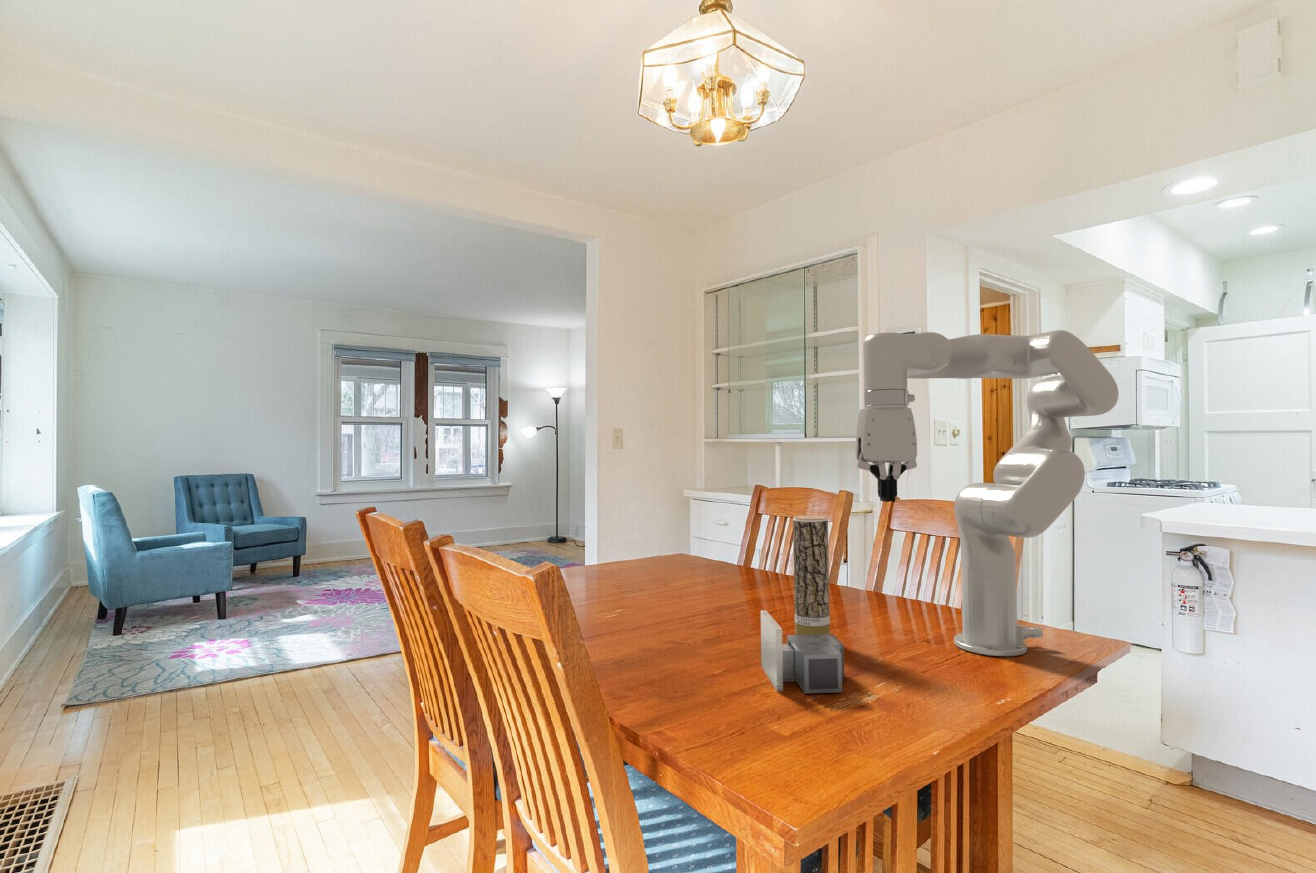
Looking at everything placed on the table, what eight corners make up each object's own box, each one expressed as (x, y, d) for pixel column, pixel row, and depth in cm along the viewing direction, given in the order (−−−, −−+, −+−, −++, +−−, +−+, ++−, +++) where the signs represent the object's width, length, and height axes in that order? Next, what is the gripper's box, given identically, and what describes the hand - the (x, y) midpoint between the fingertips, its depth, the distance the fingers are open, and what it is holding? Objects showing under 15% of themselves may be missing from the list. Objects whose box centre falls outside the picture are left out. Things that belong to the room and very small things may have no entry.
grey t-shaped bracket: (823, 664, 118) (822, 608, 118) (845, 689, 106) (844, 627, 106) (761, 666, 117) (760, 610, 117) (776, 691, 105) (775, 629, 105)
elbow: (832, 668, 115) (832, 634, 115) (855, 692, 104) (854, 654, 104) (787, 669, 114) (787, 635, 114) (805, 693, 103) (804, 655, 103)
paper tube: (831, 648, 127) (828, 519, 127) (795, 646, 128) (793, 519, 129) (829, 638, 133) (826, 515, 134) (795, 636, 135) (792, 515, 135)
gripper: (916, 402, 124) (918, 498, 124) (839, 402, 123) (840, 500, 123) (935, 399, 117) (937, 502, 116) (852, 400, 116) (854, 503, 116)
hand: (887, 500), depth 120 cm, fingers closed
